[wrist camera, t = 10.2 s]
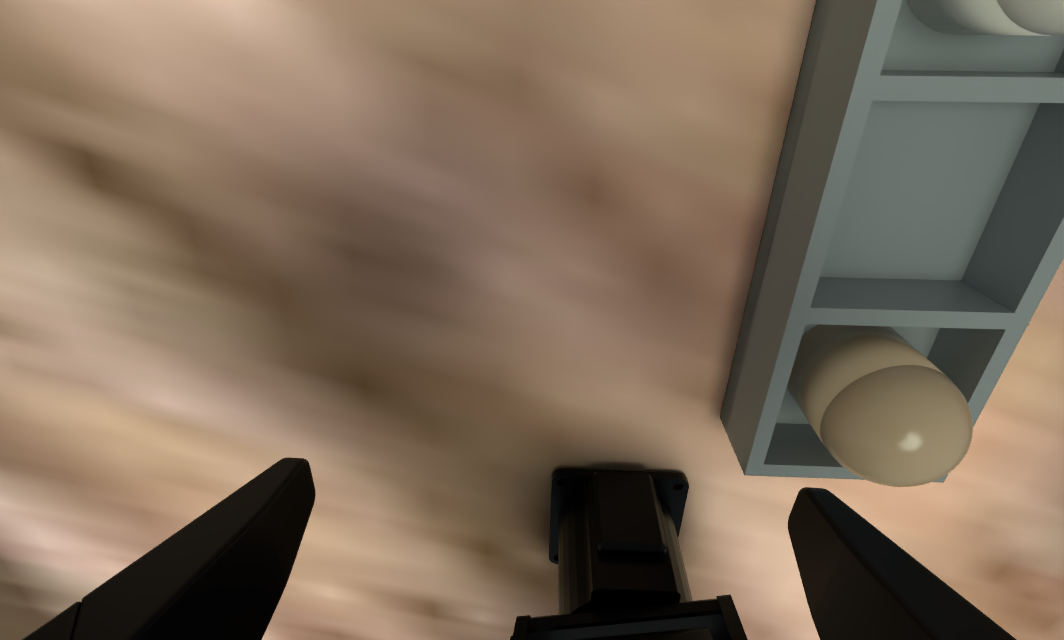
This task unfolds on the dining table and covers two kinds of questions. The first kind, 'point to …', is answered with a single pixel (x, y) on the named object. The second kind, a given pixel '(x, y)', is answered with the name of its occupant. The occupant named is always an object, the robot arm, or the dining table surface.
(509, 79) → the dining table surface
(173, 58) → the dining table surface
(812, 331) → the brown egg
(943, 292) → the grey long rectangular tray
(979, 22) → the cream egg
